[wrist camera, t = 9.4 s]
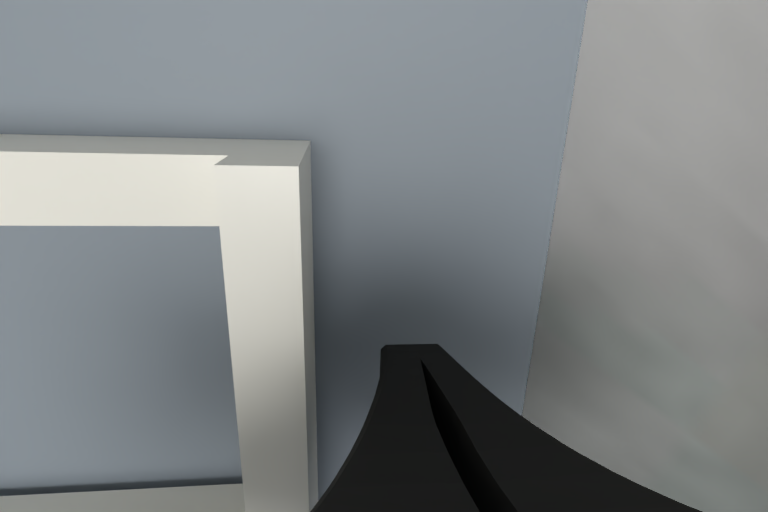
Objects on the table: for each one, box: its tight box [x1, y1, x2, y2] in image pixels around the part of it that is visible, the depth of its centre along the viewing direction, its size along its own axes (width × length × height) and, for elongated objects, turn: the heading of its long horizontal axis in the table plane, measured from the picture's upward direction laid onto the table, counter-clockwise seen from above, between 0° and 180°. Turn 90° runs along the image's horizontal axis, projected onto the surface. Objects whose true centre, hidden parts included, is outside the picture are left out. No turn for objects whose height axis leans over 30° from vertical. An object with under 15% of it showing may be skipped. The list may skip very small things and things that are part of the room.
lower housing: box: [0, 134, 318, 512], centre depth 10 cm, size 11×10×4 cm
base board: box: [0, 0, 588, 501], centre depth 11 cm, size 16×24×4 cm, turn 88°
